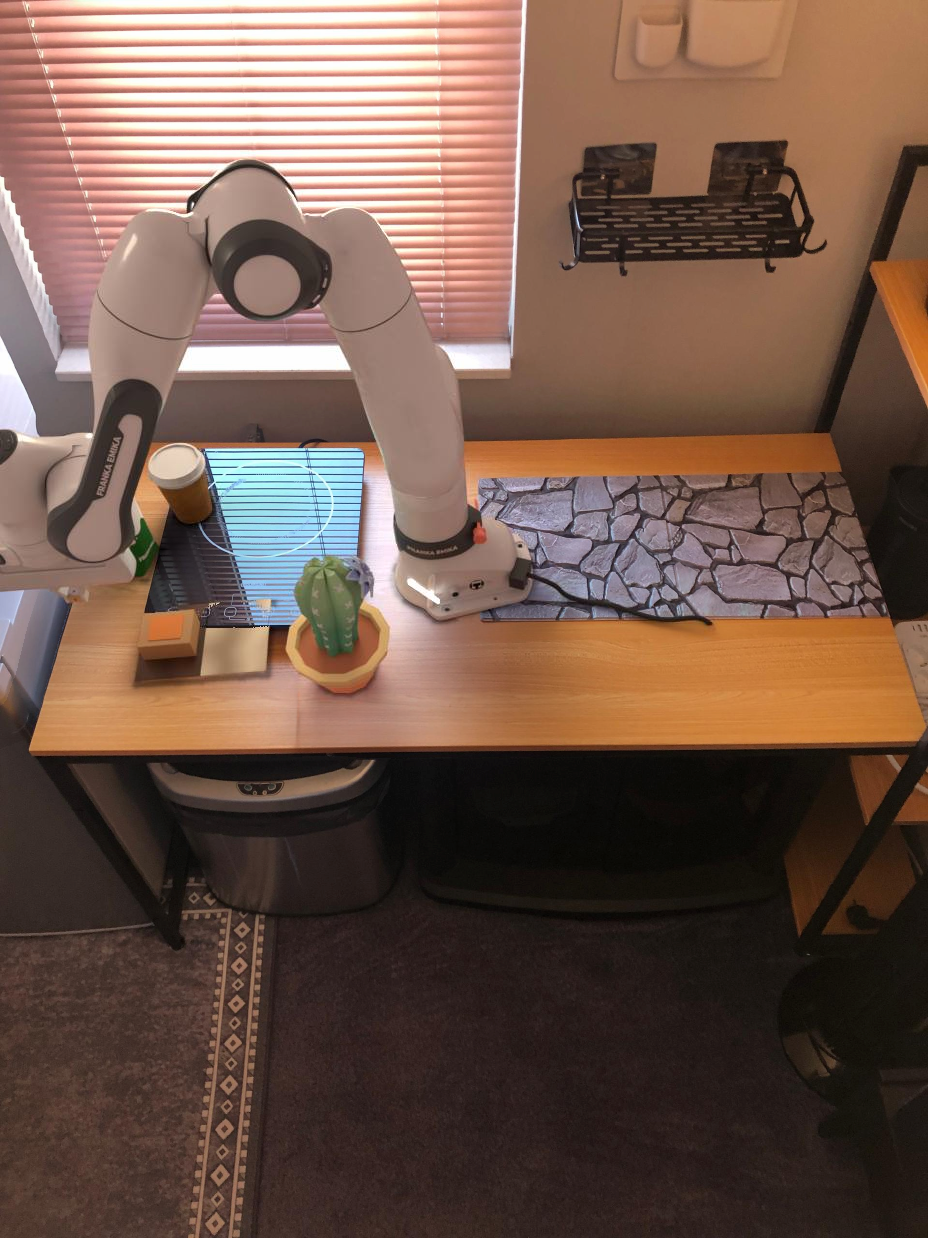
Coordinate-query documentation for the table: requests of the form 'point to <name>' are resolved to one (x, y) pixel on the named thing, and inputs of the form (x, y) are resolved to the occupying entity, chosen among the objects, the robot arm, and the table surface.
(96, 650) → the table surface
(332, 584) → the potted cactus
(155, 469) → the disposable coffee cup
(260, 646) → the board
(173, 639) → the coffee packet
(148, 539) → the milk carton
